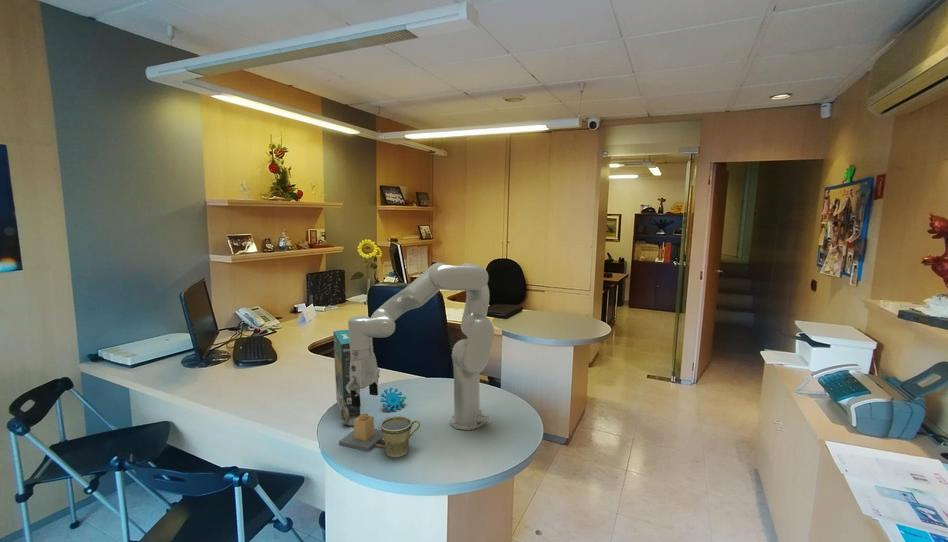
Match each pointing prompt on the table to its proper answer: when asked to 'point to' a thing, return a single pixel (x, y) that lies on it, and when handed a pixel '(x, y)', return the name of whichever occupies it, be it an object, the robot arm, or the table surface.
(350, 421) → the pocket watch
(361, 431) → the cube with round knob
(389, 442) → the ceramic cup
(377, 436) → the junction plate
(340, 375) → the cake mix box
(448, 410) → the table surface
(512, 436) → the table surface
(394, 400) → the gear
